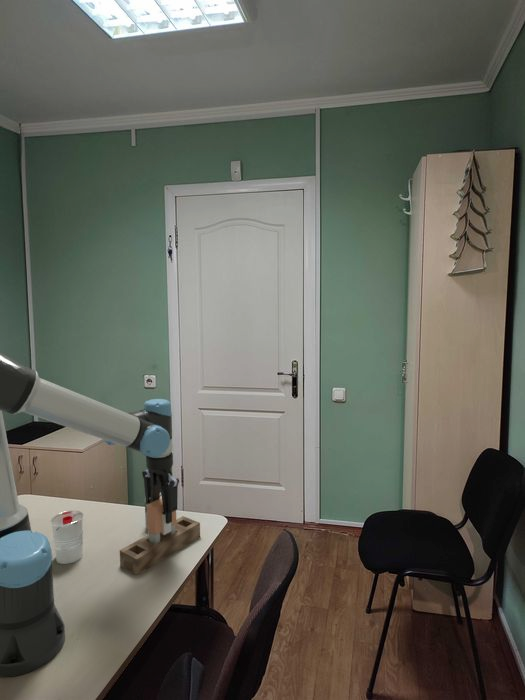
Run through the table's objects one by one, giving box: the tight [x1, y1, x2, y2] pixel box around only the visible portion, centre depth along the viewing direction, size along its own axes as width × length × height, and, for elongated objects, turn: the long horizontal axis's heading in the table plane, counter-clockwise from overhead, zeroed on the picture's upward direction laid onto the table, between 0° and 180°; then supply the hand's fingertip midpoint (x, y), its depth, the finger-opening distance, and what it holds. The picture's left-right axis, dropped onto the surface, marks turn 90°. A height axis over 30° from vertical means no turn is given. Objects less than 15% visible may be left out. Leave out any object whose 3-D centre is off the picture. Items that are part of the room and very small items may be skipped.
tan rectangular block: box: [146, 498, 177, 544], centre depth 131 cm, size 8×4×12 cm, turn 144°
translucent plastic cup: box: [50, 510, 84, 565], centre depth 128 cm, size 10×8×12 cm
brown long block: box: [119, 516, 201, 576], centre depth 131 cm, size 24×7×4 cm, turn 144°
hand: (162, 530), depth 131 cm, fingers closed on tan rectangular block, 3 cm apart
